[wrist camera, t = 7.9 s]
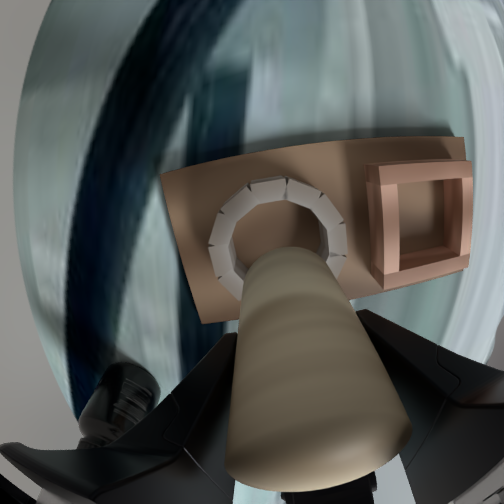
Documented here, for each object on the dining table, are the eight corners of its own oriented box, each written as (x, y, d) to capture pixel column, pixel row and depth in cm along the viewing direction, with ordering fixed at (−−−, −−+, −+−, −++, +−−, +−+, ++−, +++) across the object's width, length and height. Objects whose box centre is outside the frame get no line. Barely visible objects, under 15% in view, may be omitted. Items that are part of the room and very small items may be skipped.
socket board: (456, 265, 20) (478, 281, 17) (204, 315, 22) (196, 342, 19) (455, 137, 16) (482, 137, 13) (165, 173, 18) (145, 177, 15)
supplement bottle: (97, 360, 25) (50, 438, 14) (146, 358, 25) (103, 454, 13) (125, 399, 27) (93, 474, 16) (171, 400, 27) (146, 488, 16)
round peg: (335, 319, 12) (392, 470, 5) (252, 333, 12) (246, 496, 5) (330, 239, 11) (433, 383, 3) (233, 255, 11) (195, 428, 4)
